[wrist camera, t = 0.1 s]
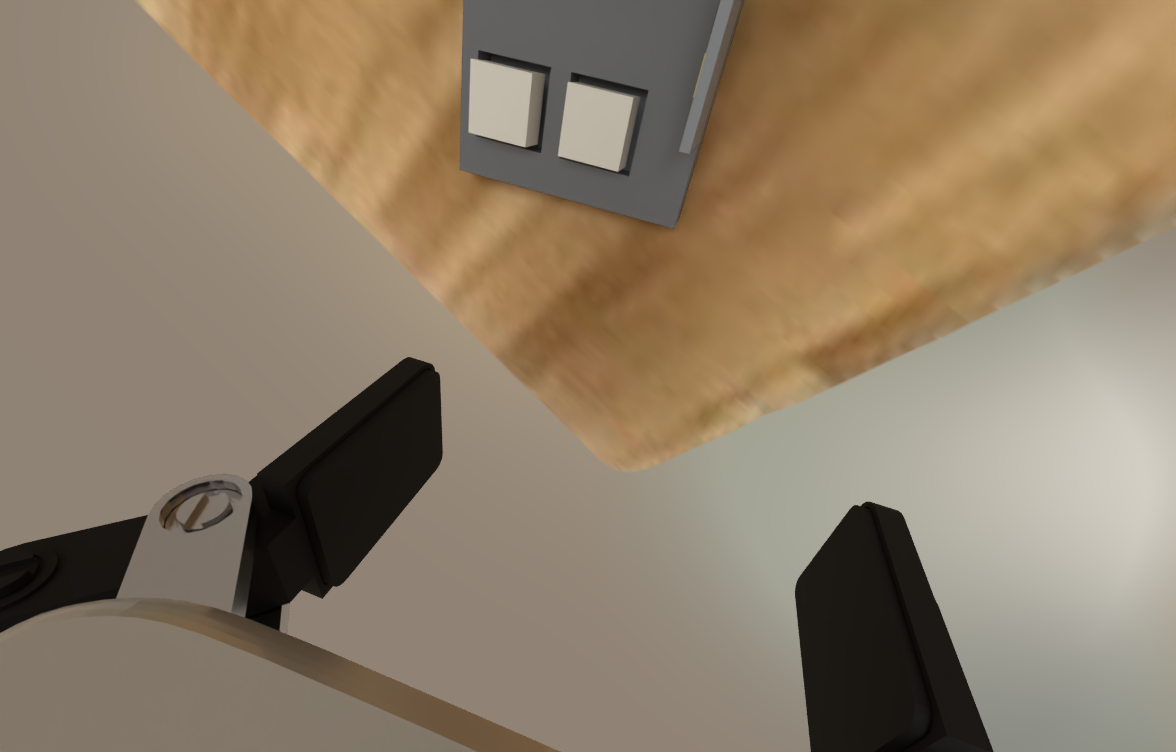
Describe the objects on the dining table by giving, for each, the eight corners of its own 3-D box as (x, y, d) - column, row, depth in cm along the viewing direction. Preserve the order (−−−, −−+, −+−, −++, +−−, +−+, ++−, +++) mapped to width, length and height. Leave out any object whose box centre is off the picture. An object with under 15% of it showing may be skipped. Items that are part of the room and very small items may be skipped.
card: (744, -57, 25) (744, -99, 20) (757, -55, 25) (761, -96, 20) (688, 139, 31) (676, 150, 25) (699, 142, 31) (689, 154, 25)
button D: (578, 82, 31) (567, 81, 30) (640, 97, 31) (633, 97, 29) (568, 152, 34) (557, 156, 32) (625, 167, 33) (618, 171, 31)
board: (494, -234, 27) (468, -267, 24) (800, -190, 24) (807, -221, 22) (477, 164, 39) (459, 169, 37) (678, 219, 37) (673, 228, 34)
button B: (486, 60, 32) (470, 58, 30) (545, 74, 32) (532, 73, 30) (483, 130, 35) (468, 132, 33) (537, 144, 34) (525, 147, 32)
